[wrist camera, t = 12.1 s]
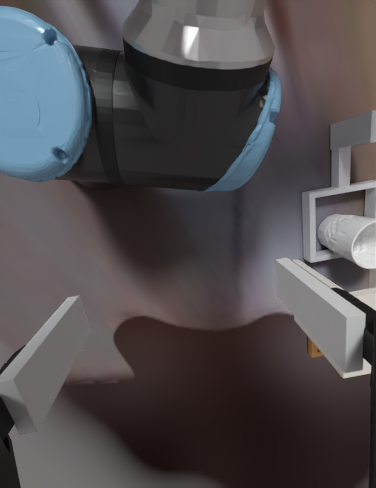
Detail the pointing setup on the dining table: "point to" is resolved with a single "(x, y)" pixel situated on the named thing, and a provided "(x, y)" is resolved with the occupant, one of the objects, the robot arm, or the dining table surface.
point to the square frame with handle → (340, 178)
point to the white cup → (350, 238)
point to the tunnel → (370, 296)
